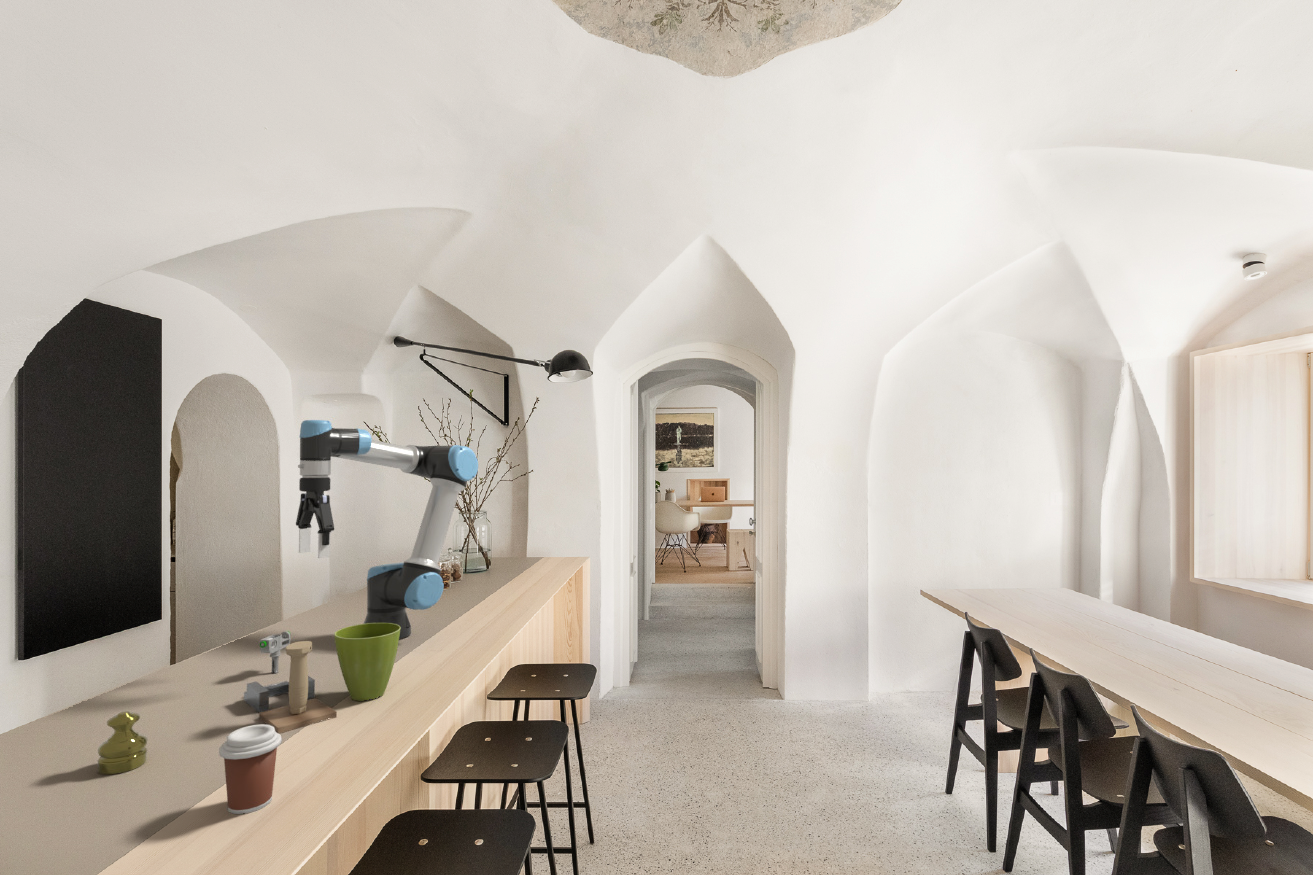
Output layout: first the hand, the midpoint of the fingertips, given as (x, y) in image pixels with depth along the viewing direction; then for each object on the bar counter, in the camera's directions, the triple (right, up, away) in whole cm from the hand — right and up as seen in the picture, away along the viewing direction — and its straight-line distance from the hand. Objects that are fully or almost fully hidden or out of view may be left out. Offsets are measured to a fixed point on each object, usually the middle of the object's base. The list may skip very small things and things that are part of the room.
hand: (314, 554), depth 180 cm
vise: (+1, -31, -20) cm, 37 cm away
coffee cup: (+24, -31, -68) cm, 78 cm away
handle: (+13, -30, -31) cm, 45 cm away
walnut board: (+13, -31, -31) cm, 46 cm away
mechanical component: (-10, -32, -1) cm, 33 cm away
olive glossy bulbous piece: (-8, -31, -54) cm, 63 cm away
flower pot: (+22, -32, -18) cm, 42 cm away
